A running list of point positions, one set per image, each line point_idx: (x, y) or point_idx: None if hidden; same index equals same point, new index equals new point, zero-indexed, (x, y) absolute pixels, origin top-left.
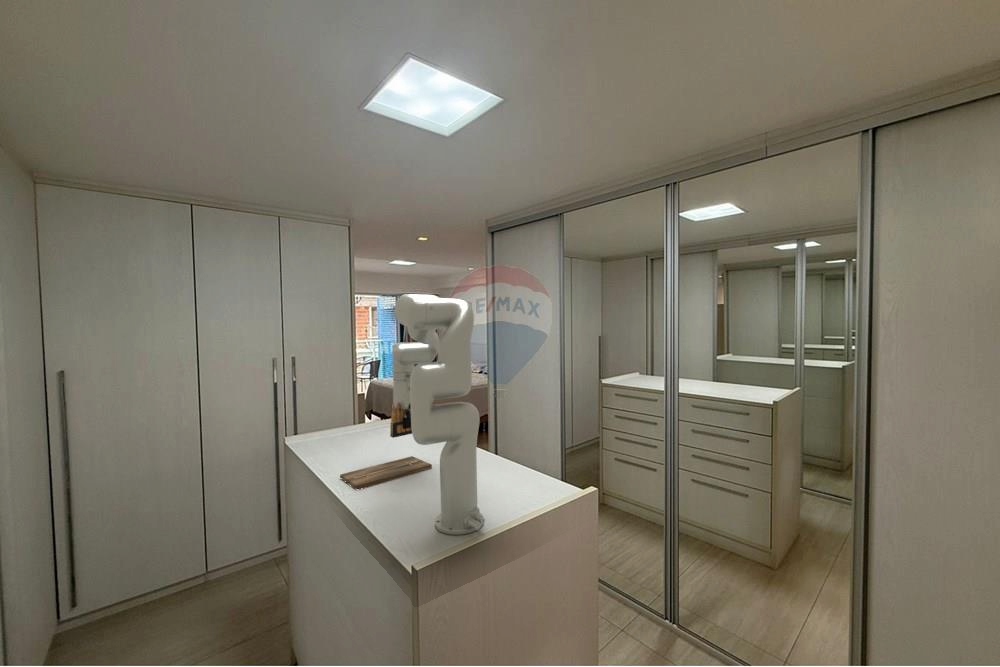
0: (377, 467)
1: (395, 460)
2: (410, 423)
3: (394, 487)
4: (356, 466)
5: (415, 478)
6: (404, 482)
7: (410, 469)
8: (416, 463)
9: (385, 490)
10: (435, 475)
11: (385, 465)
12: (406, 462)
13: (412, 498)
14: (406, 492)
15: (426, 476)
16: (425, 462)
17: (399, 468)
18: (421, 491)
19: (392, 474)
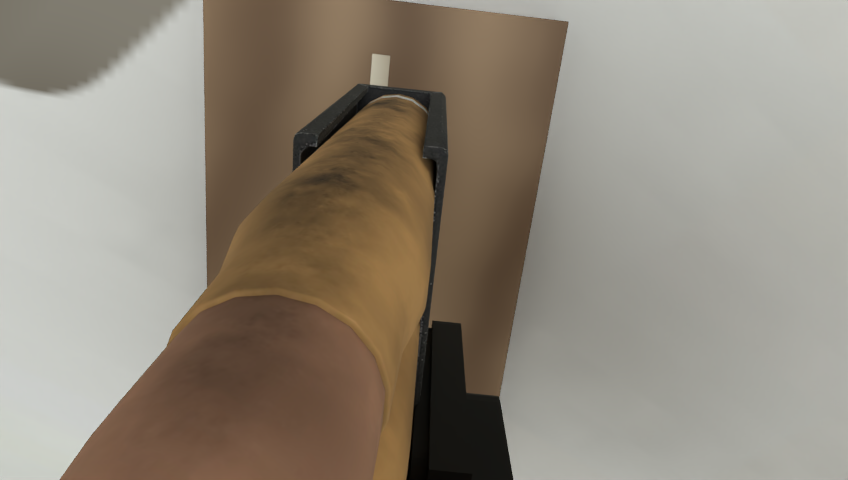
0: None
1: (208, 163)
2: (461, 373)
3: (614, 417)
4: (53, 357)
5: (613, 249)
6: (604, 337)
7: (509, 224)
8: None
9: (604, 468)
10: (705, 115)
11: None
12: None
13: (838, 447)
14: (742, 419)
15: (656, 174)
16: (472, 21)
17: None
18: (819, 361)
19: (484, 363)
